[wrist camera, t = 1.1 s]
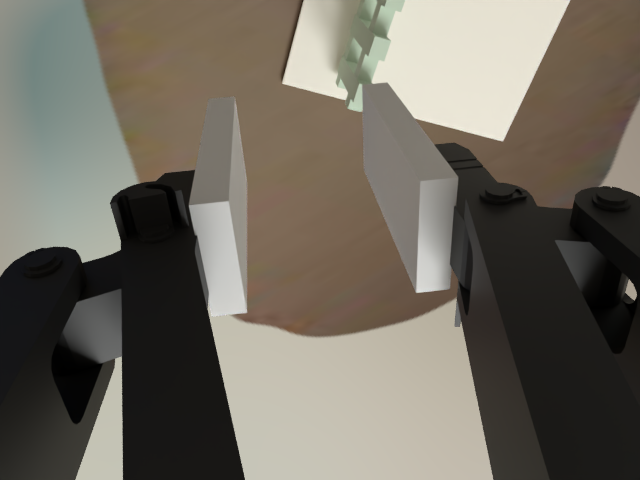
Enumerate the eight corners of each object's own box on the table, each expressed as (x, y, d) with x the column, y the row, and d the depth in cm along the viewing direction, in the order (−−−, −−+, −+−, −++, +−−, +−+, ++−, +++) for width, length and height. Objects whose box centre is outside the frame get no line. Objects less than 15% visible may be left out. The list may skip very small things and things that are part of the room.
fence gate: (386, -90, 35) (415, -87, 29) (401, -85, 35) (432, -81, 29) (334, 81, 40) (349, 113, 34) (347, 84, 40) (364, 117, 35)
